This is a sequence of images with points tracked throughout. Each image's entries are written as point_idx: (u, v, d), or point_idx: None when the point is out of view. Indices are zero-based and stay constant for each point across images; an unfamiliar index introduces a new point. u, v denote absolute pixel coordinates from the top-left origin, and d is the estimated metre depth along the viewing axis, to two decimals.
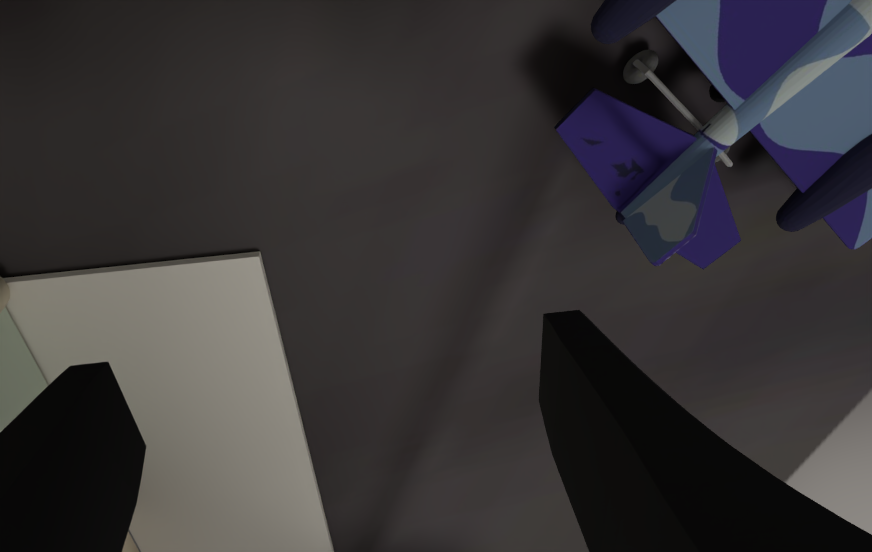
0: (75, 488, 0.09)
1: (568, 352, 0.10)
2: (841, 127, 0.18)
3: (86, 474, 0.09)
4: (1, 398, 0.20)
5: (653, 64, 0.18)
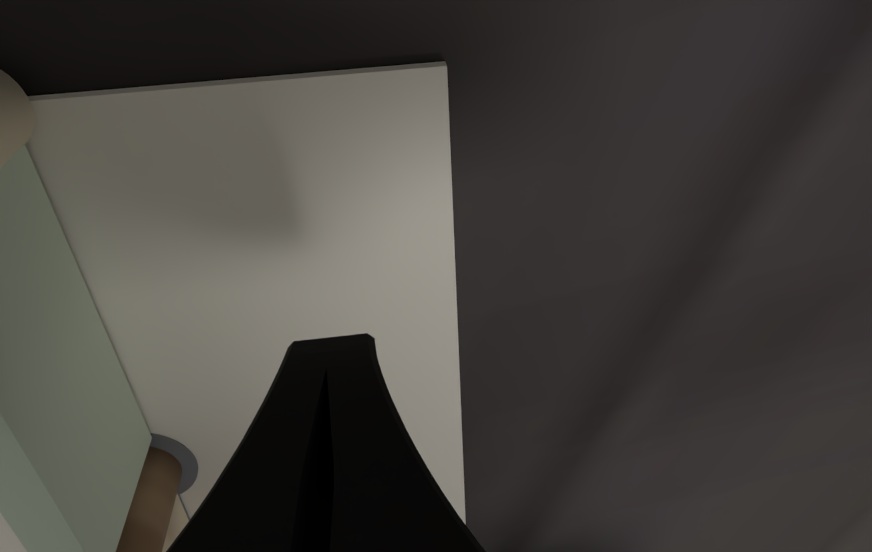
0: (327, 459, 0.09)
1: (327, 379, 0.09)
2: None
3: (330, 445, 0.10)
4: (18, 293, 0.12)
5: None
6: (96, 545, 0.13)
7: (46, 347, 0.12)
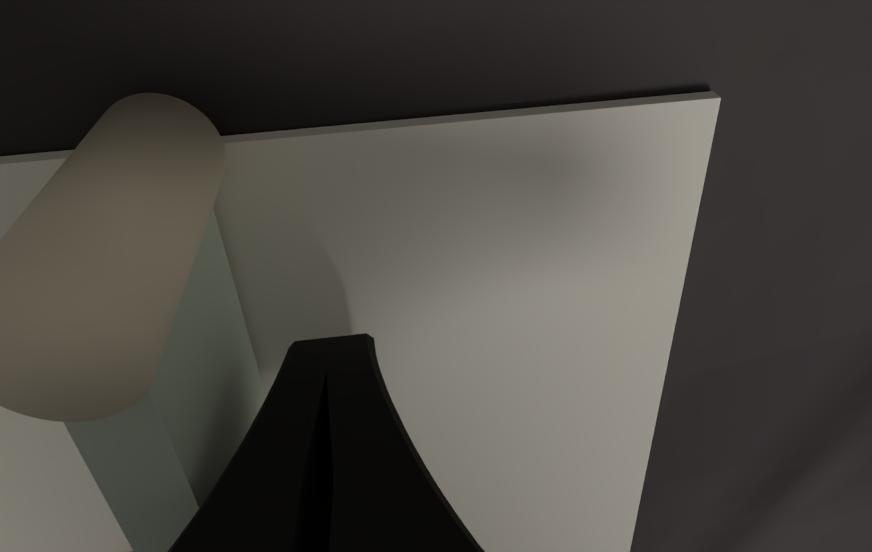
0: (328, 459, 0.09)
1: (326, 380, 0.09)
2: None
3: (332, 445, 0.10)
4: (216, 383, 0.09)
5: None
6: None
7: (236, 443, 0.10)
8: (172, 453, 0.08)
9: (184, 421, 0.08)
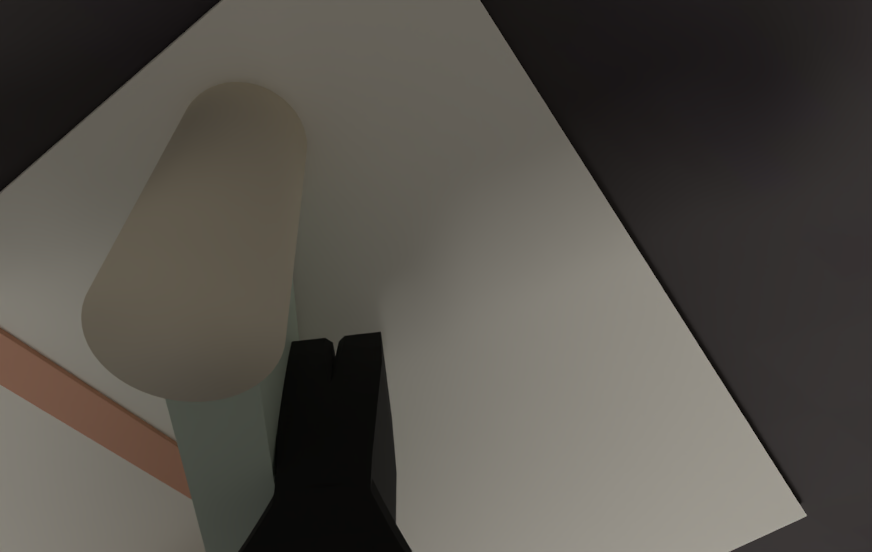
0: (384, 450, 0.09)
1: None
2: None
3: (386, 438, 0.10)
4: (284, 373, 0.09)
5: None
6: None
7: None
8: (262, 440, 0.08)
9: (271, 408, 0.08)
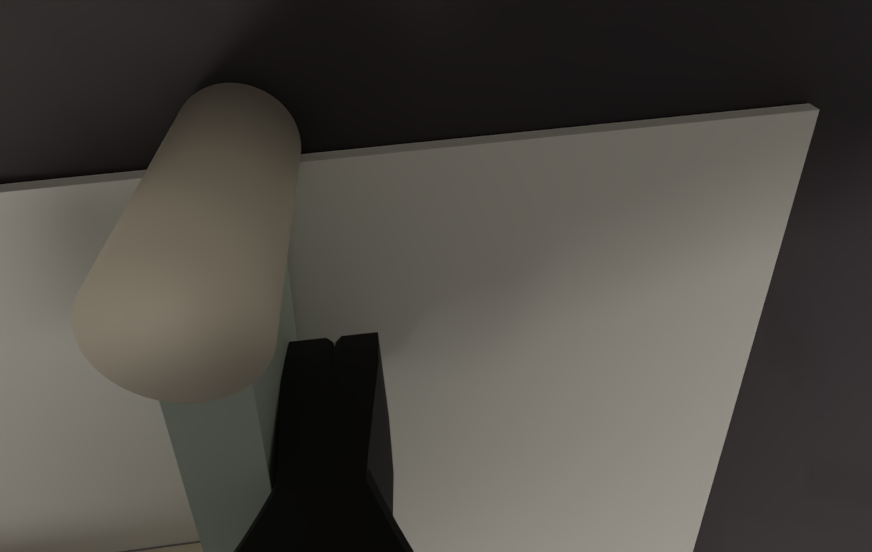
0: (381, 452, 0.09)
1: (281, 385, 0.09)
2: None
3: (382, 439, 0.10)
4: (280, 374, 0.09)
5: None
6: None
7: None
8: (258, 441, 0.08)
9: (266, 409, 0.08)
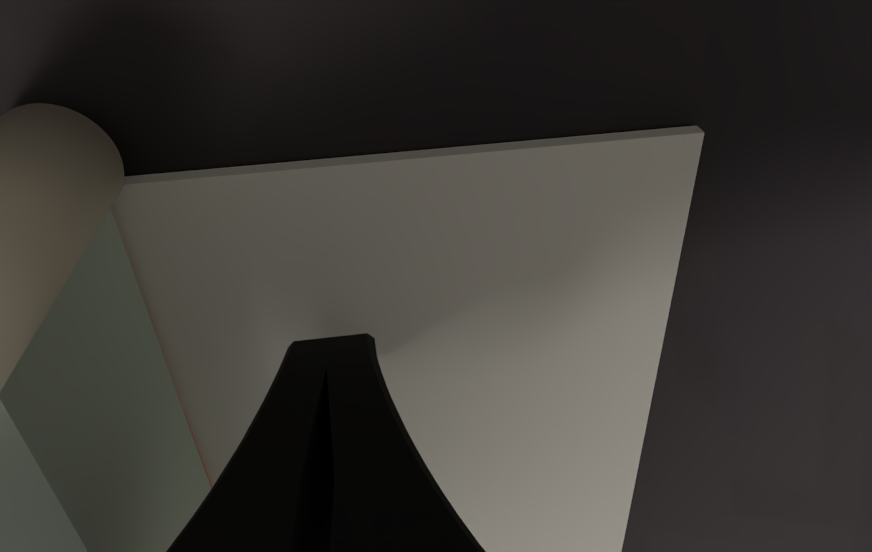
0: (327, 458, 0.09)
1: (327, 379, 0.09)
2: None
3: (330, 445, 0.10)
4: (106, 396, 0.09)
5: None
6: None
7: (133, 455, 0.10)
8: (36, 468, 0.07)
9: (55, 436, 0.08)
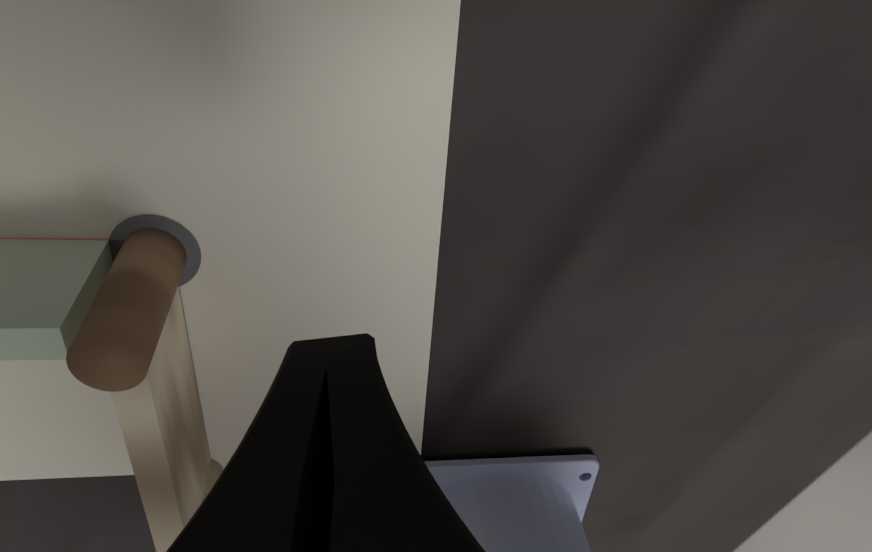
0: (327, 458, 0.09)
1: (327, 379, 0.09)
2: None
3: (330, 445, 0.10)
4: None
5: None
6: (27, 318, 0.16)
7: None
8: None
9: None
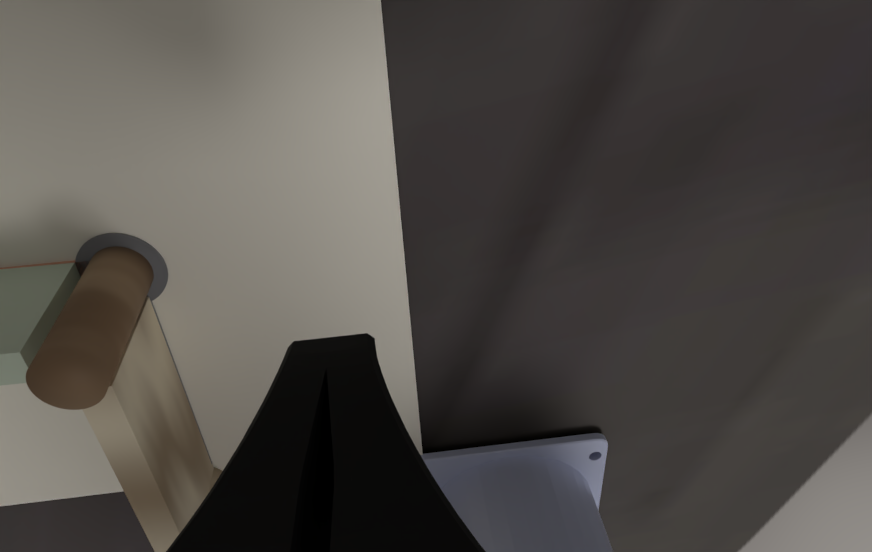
0: (327, 458, 0.09)
1: (327, 379, 0.09)
2: None
3: (330, 445, 0.10)
4: None
5: None
6: None
7: None
8: None
9: None
